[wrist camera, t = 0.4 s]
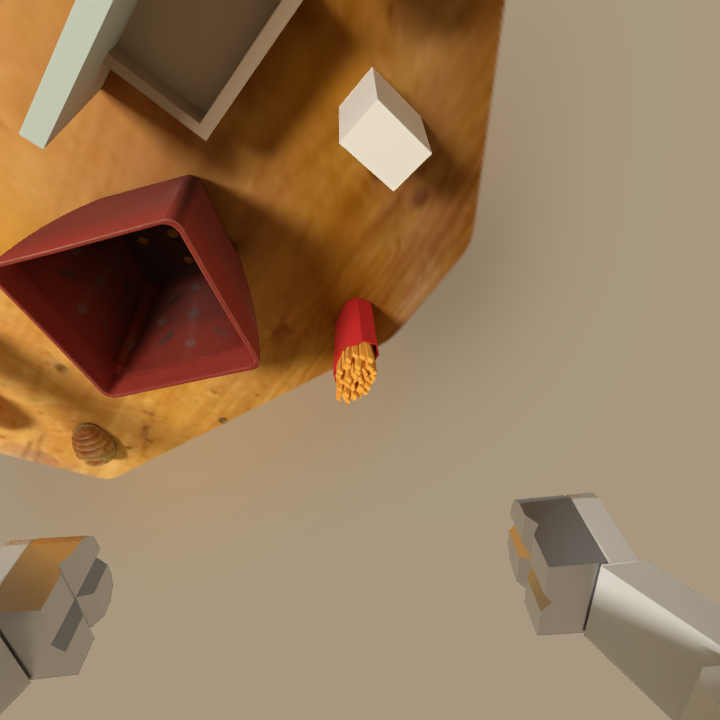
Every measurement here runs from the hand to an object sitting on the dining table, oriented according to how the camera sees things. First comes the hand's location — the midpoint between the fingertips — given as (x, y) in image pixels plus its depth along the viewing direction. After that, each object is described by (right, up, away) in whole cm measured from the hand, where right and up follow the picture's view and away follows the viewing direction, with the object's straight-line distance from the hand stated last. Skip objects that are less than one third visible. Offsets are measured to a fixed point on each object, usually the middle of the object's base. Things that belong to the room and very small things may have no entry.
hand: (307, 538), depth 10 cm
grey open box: (-15, +34, +36) cm, 52 cm away
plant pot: (-22, +19, +51) cm, 59 cm away
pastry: (-48, -11, +82) cm, 95 cm away
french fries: (0, +10, +62) cm, 63 cm away
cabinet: (+3, +29, +42) cm, 51 cm away
